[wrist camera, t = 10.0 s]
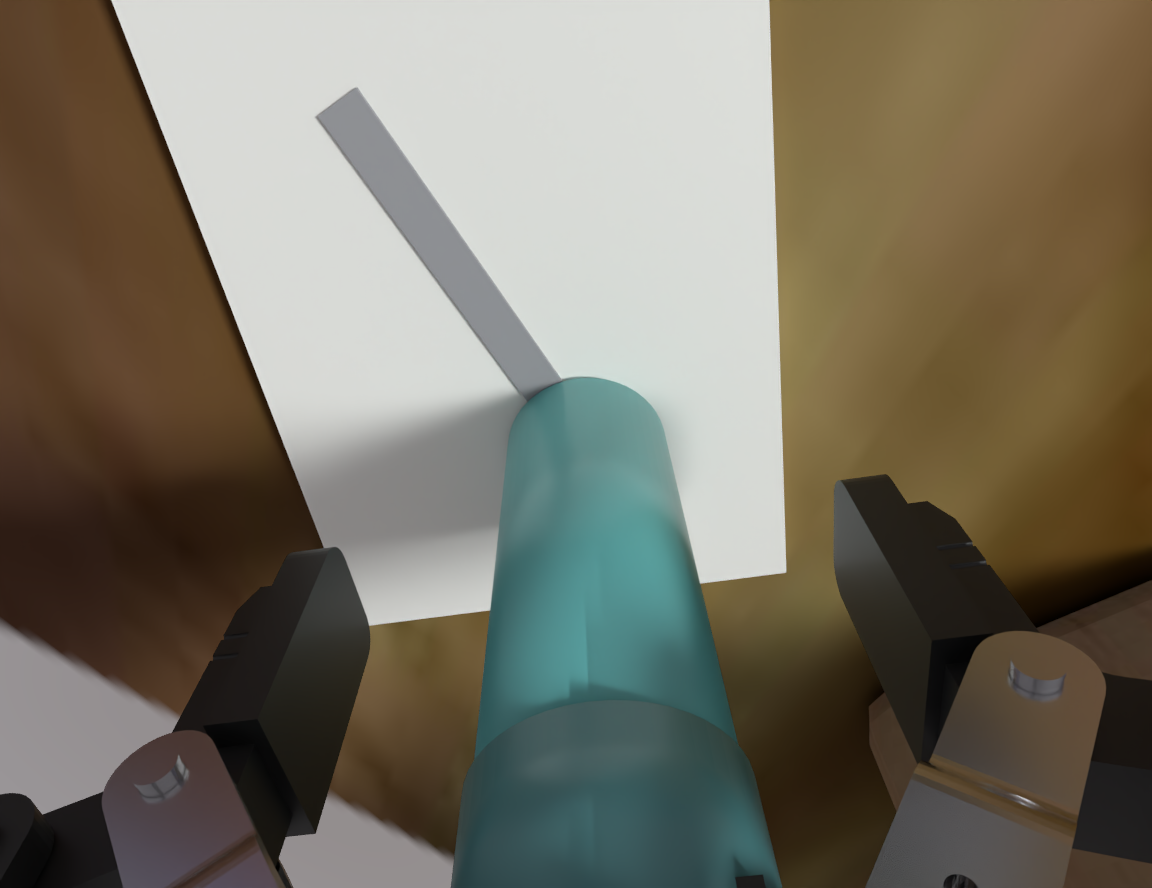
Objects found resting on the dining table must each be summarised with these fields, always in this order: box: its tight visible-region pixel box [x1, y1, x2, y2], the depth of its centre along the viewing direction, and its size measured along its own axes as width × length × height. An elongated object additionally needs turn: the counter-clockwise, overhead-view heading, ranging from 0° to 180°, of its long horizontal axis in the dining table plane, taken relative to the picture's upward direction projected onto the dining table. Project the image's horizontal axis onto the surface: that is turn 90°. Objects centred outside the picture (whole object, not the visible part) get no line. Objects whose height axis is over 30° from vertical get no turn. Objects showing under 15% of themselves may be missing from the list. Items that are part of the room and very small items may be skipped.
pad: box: [111, 0, 786, 625], centre depth 15 cm, size 15×10×1 cm, turn 9°
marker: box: [451, 378, 782, 888], centre depth 12 cm, size 3×3×10 cm
